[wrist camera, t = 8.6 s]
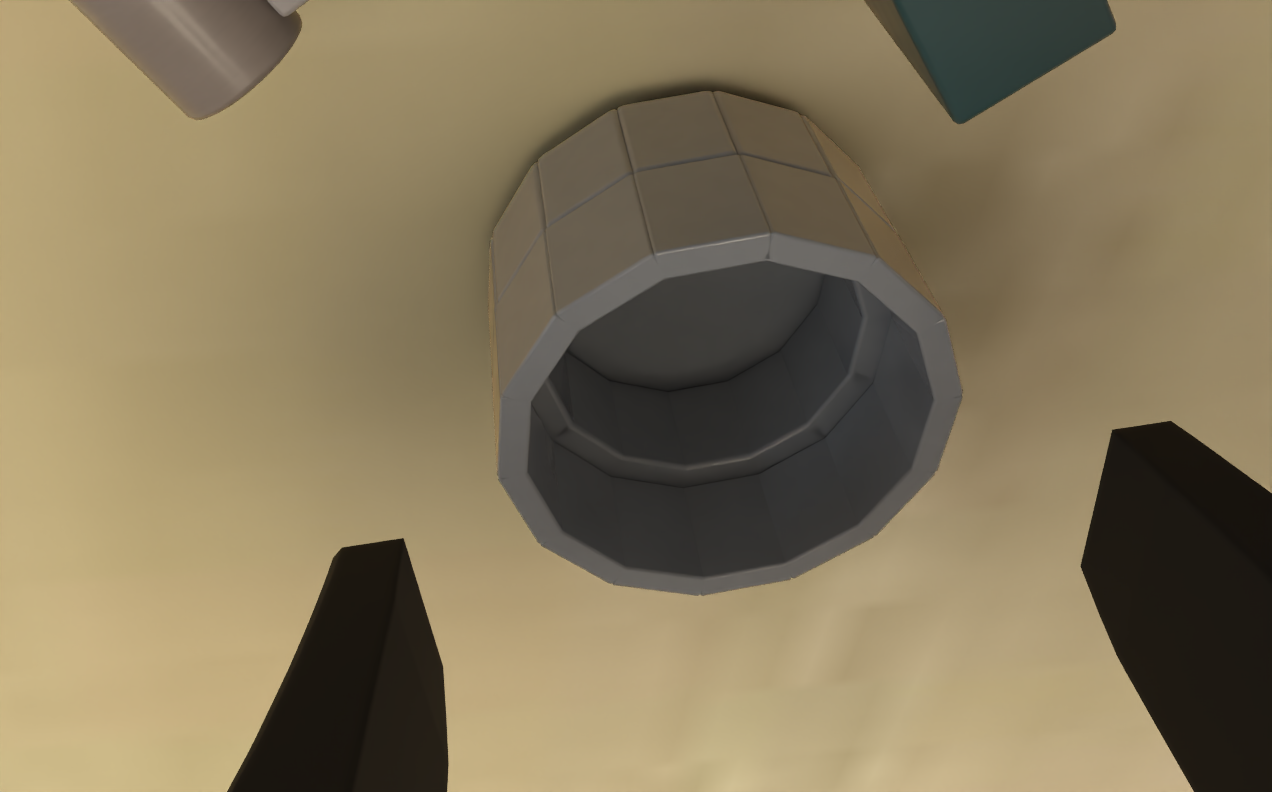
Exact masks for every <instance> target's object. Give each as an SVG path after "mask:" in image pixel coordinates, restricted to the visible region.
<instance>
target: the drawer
mask: <svg viewBox="0 0 1272 792" xmlns="http://www.w3.org/2000/svg"><path fill="white" fill-rule="evenodd" d="M69 1H70V2H71V3H72V4H73V5H74V6H75V7H76V8H77V9H78V10H79V11H80V12H81V13H83V14H84V15H85V16H86V17H87V18H88V19H89V20H90V21H91V22H92V23H93V24H94V25H95V26H96V27H97V28H98V29H99V30H100V31H101V32H102V33H103V34H104V35H105V36H106V37H107V38H108V39H109V40H110V41H111V42H112V43H113V44H114V45H115V46H116V47H117V48H118V49H119V50H120V51H121V52H122V53H123V54H124V55H125V56H126V57H127V58H128V59H129V60H131V61H132V62H133V63H134V64H135V65H136V66H137V67H138V68H139V69H140V70H141V71H142V72H143V73H144V74H145V75H146V76H147V77H148V78H149V79H150V80H151V81H152V82H153V83H154V84H155V85H156V86H157V87H158V88H159V89H160V90H161V91H162V92H163V93H164V94H165V95H166V96H167V97H168V98H169V99H170V100H171V101H172V102H173V103H174V104H175V105H176V106H177V107H178V108H180V109H181V110H182V111H183V112H184V113H185V114H186V115H187V116H188V117H190V118H192V119H194V120H202V119H205V118H208V117H210V116H213V115H215V114H217V113H219V112H221V111H223V110H224V109H226V108H228V107H229V106H231V105H232V104H234V103H235V102H237V101H238V100H239V99H241V98H242V97H243V96H245V95H246V94H247V93H248V92H249V91H251V90H252V89H253V88H254V87H255V86H256V85H258V84H259V83H260V82H261V81H262V80H263V79H264V78H265V77H266V76H267V75H268V74H269V73H270V72H271V71H272V70H273V69H274V68H275V67H276V66H277V65H278V64H279V63H280V61H281V60H282V59H283V58H284V57H285V55H286V54H287V53H288V51H289V50H290V49H291V47H292V46H293V44H294V42H295V41H296V39H297V37H298V35H299V33H300V31H301V28H302V21H301V18H300V15H299V14H298V13H297V12H296V10H297V9H298V8H299V7H301V6H302V5H303V4H305V3H306V2H307V1H309V0H69ZM864 1H865V2H866V4H867V5H868V6H869V8H870V9H871V11H872V12H873V13H874V15H875V16H876V17H877V19H878V20H879V21H880V23H881V24H882V25H883V27H884V28H885V29H886V31H887V32H888V33H889V35H890V36H891V38H892V39H893V40H894V42H895V43H896V44H897V46H898V47H899V48H900V50H901V51H902V52H903V54H904V55H905V56H906V58H907V59H908V60H909V62H910V63H911V65H912V66H913V67H914V69H915V70H916V71H917V73H918V74H919V75H920V77H921V78H922V79H923V81H924V82H925V83H926V85H927V86H928V87H929V89H930V90H931V92H932V93H933V94H934V96H935V97H936V98H937V100H938V101H939V102H940V104H941V105H942V106H943V108H944V109H945V110H946V112H947V113H948V114H949V116H950V117H951V119H952V120H953V121H954V122H956V123H957V124H963V123H965V122H967V121H969V120H970V119H972V118H973V117H975V116H977V115H978V114H980V113H982V112H983V111H985V110H987V109H988V108H990V107H992V106H993V105H995V104H997V103H998V102H1000V101H1002V100H1003V99H1005V98H1007V97H1008V96H1010V95H1012V94H1013V93H1015V92H1016V91H1018V90H1020V89H1021V88H1023V87H1025V86H1026V85H1028V84H1030V83H1031V82H1033V81H1035V80H1036V79H1038V78H1040V77H1041V76H1043V75H1045V74H1046V73H1048V72H1050V71H1051V70H1053V69H1055V68H1056V67H1058V66H1060V65H1061V64H1063V63H1064V62H1066V61H1068V60H1069V59H1071V58H1073V57H1074V56H1076V55H1078V54H1079V53H1081V52H1083V51H1084V50H1086V49H1088V48H1089V47H1091V46H1093V45H1094V44H1096V43H1098V42H1099V41H1101V40H1103V39H1104V38H1106V37H1107V36H1109V35H1111V34H1112V33H1113V32H1114V31H1115V30H1116V22H1115V19H1114V17H1113V14H1112V11H1111V9H1110V6H1109V4H1108V1H1107V0H864Z"/></svg>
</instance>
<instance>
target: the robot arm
mask: <svg viewBox="0 0 1272 792" xmlns="http://www.w3.org/2000/svg"><path fill="white" fill-rule="evenodd" d="M1081 568H1082V571H1083V574H1084V576H1085V579H1086V581H1087V584H1088V586H1089V589H1090V592H1091V594H1092V597H1093V599H1094V602H1095V604H1096V607H1097V609H1098V612H1099V615H1100V617H1101V619H1102V622H1103V624H1104V626H1105V629H1106V631H1107V633H1108V636H1109V638H1110V640H1111V643H1112V645H1113V647H1114V650H1115V652H1116V655H1117V656H1118V658H1119V660H1120V662H1121V664H1122V666H1123V667H1124V669H1125V671H1126V673H1127V675H1128V677H1129V678H1130V680H1131V682H1132V684H1133V685H1134V687H1135V689H1136V691H1137V692H1138V694H1139V696H1140V698H1141V700H1142V701H1143V703H1144V705H1145V707H1146V708H1147V710H1148V712H1149V714H1150V716H1151V717H1152V719H1153V721H1154V723H1155V724H1156V726H1157V728H1158V730H1159V731H1160V733H1161V735H1162V737H1163V738H1164V740H1165V742H1166V744H1167V745H1168V747H1169V749H1170V751H1171V752H1172V754H1173V756H1174V758H1175V759H1176V761H1177V763H1178V764H1179V766H1180V768H1181V770H1182V771H1183V773H1184V775H1185V777H1186V778H1187V780H1188V782H1189V784H1190V785H1191V787H1192V789H1193V791H1194V792H1272V493H1270V492H1269V491H1268V490H1266V489H1265V488H1263V487H1262V486H1261V485H1259V484H1258V483H1257V482H1255V481H1254V480H1252V479H1251V478H1250V477H1248V476H1247V475H1246V474H1244V473H1243V472H1242V471H1240V470H1239V469H1237V468H1236V467H1235V466H1233V465H1232V464H1231V463H1229V462H1228V461H1226V460H1225V459H1224V458H1222V457H1221V456H1220V455H1218V454H1217V453H1215V452H1214V451H1213V450H1211V449H1210V448H1209V447H1207V446H1206V445H1204V444H1203V443H1202V442H1200V441H1199V440H1197V439H1196V438H1195V437H1193V436H1192V435H1190V434H1189V433H1188V432H1186V431H1185V430H1183V429H1182V428H1180V427H1179V426H1177V425H1176V424H1175V423H1173V422H1172V421H1167V422H1160V423H1154V424H1147V425H1141V426H1134V427H1128V428H1121V429H1115V430H1112V433H1111V438H1110V442H1109V446H1108V451H1107V455H1106V459H1105V463H1104V468H1103V472H1102V476H1101V481H1100V485H1099V489H1098V494H1097V498H1096V502H1095V506H1094V511H1093V515H1092V519H1091V524H1090V528H1089V532H1088V537H1087V541H1086V545H1085V549H1084V554H1083V558H1082V562H1081ZM447 782H448V744H447V724H446V707H445V690H444V674H443V665H442V662H441V659H440V655H439V652H438V649H437V646H436V642H435V639H434V636H433V633H432V629H431V626H430V623H429V620H428V616H427V613H426V610H425V607H424V603H423V600H422V597H421V594H420V590H419V587H418V584H417V581H416V577H415V574H414V571H413V568H412V564H411V561H410V558H409V555H408V551H407V548H406V545H405V542H404V538H402V539H396V540H389V541H382V542H376V543H369V544H363V545H356V546H350V547H343V548H341V550H340V551H339V552H338V553H337V554H336V555H335V556H334V557H333V560H332V563H331V566H330V568H329V571H328V574H327V577H326V580H325V582H324V585H323V588H322V590H321V593H320V595H319V598H318V601H317V603H316V606H315V608H314V611H313V613H312V616H311V618H310V620H309V623H308V625H307V628H306V630H305V632H304V635H303V637H302V639H301V642H300V644H299V646H298V649H297V651H296V653H295V655H294V658H293V660H292V662H291V665H290V667H289V669H288V671H287V674H286V676H285V678H284V680H283V682H282V684H281V686H280V688H279V690H278V692H277V695H276V697H275V699H274V701H273V703H272V705H271V707H270V709H269V711H268V713H267V715H266V718H265V720H264V722H263V724H262V726H261V728H260V730H259V732H258V734H257V736H256V738H255V740H254V742H253V744H252V746H251V748H250V750H249V752H248V754H247V756H246V758H245V760H244V762H243V763H242V765H241V767H240V769H239V771H238V773H237V774H236V776H235V778H234V780H233V782H232V784H231V786H230V787H229V789H228V791H227V792H447Z"/></svg>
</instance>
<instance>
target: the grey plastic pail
mask: <svg viewBox="0 0 1272 792" xmlns="http://www.w3.org/2000/svg"><path fill="white" fill-rule="evenodd" d="M537 162H538V163H537ZM537 162H535V163H534V164H533V165H532V166H531V167H530V169H529V171H528V173H527V174H526V176H525V178H524V179H523V181H522V183H521V184H520V186H519V188H518V189H517V191H516V193H515V194H514V196H513V198H512V199H511V201H510V203H509V204H508V206H507V208H506V210H505V211H504V213H503V215H502V216H501V218H500V220H499V221H498V223H497V225H496V226H495V228H494V230H493V236H492V238H491V240H490V252H489V291H488V315H489V334H490V352H491V370H492V392H493V411H494V429H495V447H496V466H497V476H498V480H499V482H500V483H501V485H502V486H503V488H504V490H505V491H506V493H507V494H508V496H509V498H510V499H511V501H512V502H513V504H514V505H515V507H516V509H517V510H518V512H519V513H520V515H521V517H522V518H523V520H524V521H525V523H526V524H527V526H528V528H529V529H530V531H531V532H532V534H533V536H534V537H535V539H536V540H537V542H538V543H540V544H541V546H543V547H544V548H546V549H548V550H550V551H552V552H553V553H555V554H557V555H559V556H561V557H562V558H564V559H566V560H568V561H570V562H571V563H573V564H575V565H577V566H579V567H580V568H582V569H584V570H586V571H588V572H589V573H591V574H593V575H595V576H597V577H598V578H600V579H602V580H604V581H606V582H607V583H610V584H611V583H612V584H613V585H617V586H625V587H633V588H641V589H648V590H656V591H664V592H671V593H679V594H687V595H694V596H699V595H700V594H701V595H702V596H704V595H710V594H715V593H721V592H726V591H732V590H737V589H743V588H748V587H754V586H759V585H765V584H770V583H776V582H781V581H787V580H790V579H791V578H796V577H798V576H800V575H802V574H804V573H806V572H808V571H810V570H812V569H813V568H815V567H817V566H819V565H821V564H823V563H825V562H827V561H829V560H831V559H833V558H835V557H837V556H839V555H841V554H843V553H845V552H846V551H848V550H850V549H852V548H854V547H856V546H858V545H860V544H862V543H864V542H866V541H868V540H870V539H872V538H873V537H874V536H875V535H877V534H878V533H879V532H880V531H881V530H882V529H883V528H884V527H885V526H886V525H887V524H888V523H889V522H890V521H891V520H892V519H893V518H894V517H895V515H896V514H897V513H898V512H899V511H900V510H901V509H902V508H903V507H904V506H905V505H906V504H907V503H908V502H909V501H910V500H911V499H912V498H913V497H914V496H915V495H916V494H917V493H918V491H919V490H920V489H921V488H922V487H923V486H924V485H925V484H926V483H927V482H928V481H929V480H930V479H931V478H932V477H933V476H934V474H935V472H936V471H937V470H938V467H939V464H940V461H941V458H942V455H943V452H944V449H945V447H946V444H947V441H948V438H949V435H950V432H951V429H952V426H953V424H954V421H955V418H956V415H957V412H958V409H959V406H960V404H961V401H962V397H963V396H962V394H963V389H962V385H961V381H960V376H959V372H958V368H957V364H956V359H955V355H954V351H953V346H952V342H951V338H950V334H949V329H948V325H947V321H946V318H945V316H944V314H943V312H942V311H941V309H940V307H939V305H938V304H937V302H936V300H935V298H934V297H933V295H932V293H931V291H930V290H929V288H928V286H927V284H926V282H925V281H924V279H923V277H922V275H921V274H920V272H919V270H918V268H917V267H916V265H915V263H914V261H913V260H912V258H911V256H910V254H909V253H908V251H907V249H906V247H905V246H904V244H903V242H902V240H901V239H900V237H899V235H898V234H897V233H896V231H895V230H894V228H893V226H892V224H891V222H890V221H889V219H888V217H887V215H886V213H885V212H884V210H883V208H882V206H881V205H880V203H879V201H878V199H877V198H876V196H875V194H874V192H873V191H872V189H871V187H870V185H869V184H868V182H867V180H866V178H865V176H864V175H863V173H862V171H861V169H860V168H859V166H858V165H857V164H856V163H855V162H854V161H853V160H852V159H850V158H849V157H848V156H847V155H846V154H845V153H844V152H843V151H842V150H841V149H840V148H839V147H838V146H837V145H836V144H835V143H834V142H833V141H832V140H830V139H829V138H828V137H827V136H826V135H825V134H824V133H823V132H822V131H821V130H820V129H819V128H818V127H817V126H816V125H815V124H814V123H813V122H812V121H810V120H809V119H808V118H807V117H806V116H803V115H800V114H799V113H798V112H796V111H792V110H788V109H784V108H781V107H777V106H773V105H769V104H766V103H762V102H758V101H754V100H751V99H747V98H743V97H740V96H736V95H732V94H728V93H725V92H721V91H714V92H713V93H712V92H711V91H701V92H695V93H689V94H684V95H678V96H672V97H666V98H661V99H655V100H649V101H643V102H638V103H632V104H626V105H621V106H619V107H618V109H617V110H615V109H612V110H610V111H608V112H607V113H605V114H604V115H602V116H601V117H599V118H598V119H596V120H595V121H593V122H592V123H590V124H589V125H587V126H585V127H584V128H582V129H581V130H579V131H578V132H576V133H575V134H573V135H572V136H570V137H569V138H567V139H566V140H564V141H563V142H561V143H560V144H558V145H557V146H555V147H554V148H552V149H551V150H549V151H548V152H546V153H545V154H543V155H542V156H541V157H540V158H539V159H538V161H537Z"/></svg>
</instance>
